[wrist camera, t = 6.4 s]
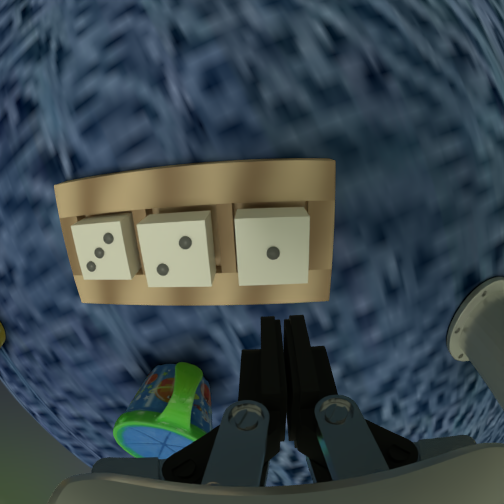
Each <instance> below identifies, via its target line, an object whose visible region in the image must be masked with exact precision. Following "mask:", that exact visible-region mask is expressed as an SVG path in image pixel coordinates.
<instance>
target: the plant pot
mask: <svg viewBox="0 0 504 504" xmlns="http://www.w3.org/2000/svg"><path fill="white" fill-rule="evenodd" d="M5 338H6V335H5V331H4V328H3V326H2V324H1V322H0V348H1V346H2V345H3V343H4V341H5Z"/></svg>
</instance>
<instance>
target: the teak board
mask: <svg viewBox="0 0 504 504" xmlns="http://www.w3.org/2000/svg"><path fill="white" fill-rule="evenodd" d="M54 189H55V195H56V201H57V207H58V212H59V217H60V222H61V227H62V232H63V236H64V240H65V245H66V249H67V253H68V257H69V261H70V264H71V268H72V272H73V275H74V279H75V282H76V285H77V288H78V292H79V295H80V298H81V301H82V303H99V304H127V305H247V304H277V303H299V302H318V301H329V294H330V282H331V269H332V254H333V237H334V213H335V160H332V159H326V158H288V159H253V160H233V161H217V162H203V163H192V164H181V165H171V166H162V167H153V168H145V169H138V170H130V171H123V172H116V173H110V174H104V175H98V176H92V177H86V178H81V179H75V180H70V181H65V182H62V183H60V184H57V185H54ZM281 207H304V208H305V210H306V211H307V213H308V214H309V216H310V231H309V267H308V283H303V284H279V285H250V286H239V279H238V265H237V251H236V236H235V221H234V218H235V215H236V211H237V209H252V208H281ZM210 210H211V221H212V232H213V243H214V253H215V263H216V273H215V277H214V280H213V284H212V286H211V287H148V283H147V278H146V274H145V269H144V264H143V259H142V253H141V248H140V242H139V237H138V231H137V224H138V223H139V222H140V221H142V220H143V219H144V218H145V217H147V216H148V215H149V214H163V213H177V212H192V211H210ZM129 212H132V214H133V221H134V227H135V233H136V239H137V244H138V250H139V255H140V260H141V265H142V267H141V268H140V270H139V271H138V272H137V273H136V275H135V276H134V277H133V278H132V280H84V278H83V275H82V271H81V267H80V263H79V260H78V256H77V252H76V247H75V243H74V239H73V234H72V230H71V225H73V224H75V223H76V222H78V221H80V220H82V219H83V218H85V217H89V216H99V215H108V214H119V213H129Z"/></svg>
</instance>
